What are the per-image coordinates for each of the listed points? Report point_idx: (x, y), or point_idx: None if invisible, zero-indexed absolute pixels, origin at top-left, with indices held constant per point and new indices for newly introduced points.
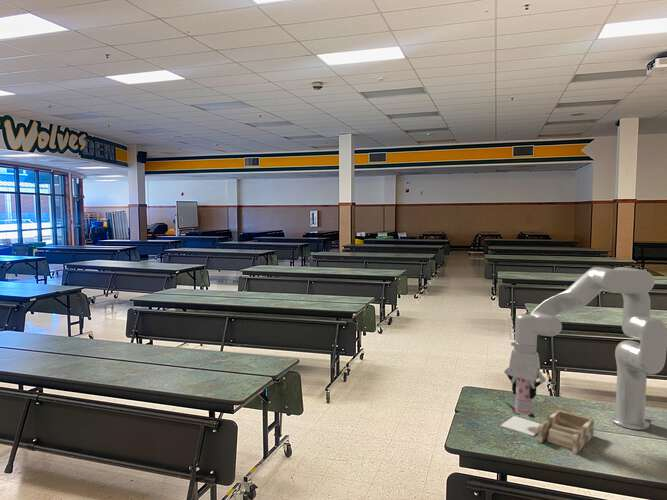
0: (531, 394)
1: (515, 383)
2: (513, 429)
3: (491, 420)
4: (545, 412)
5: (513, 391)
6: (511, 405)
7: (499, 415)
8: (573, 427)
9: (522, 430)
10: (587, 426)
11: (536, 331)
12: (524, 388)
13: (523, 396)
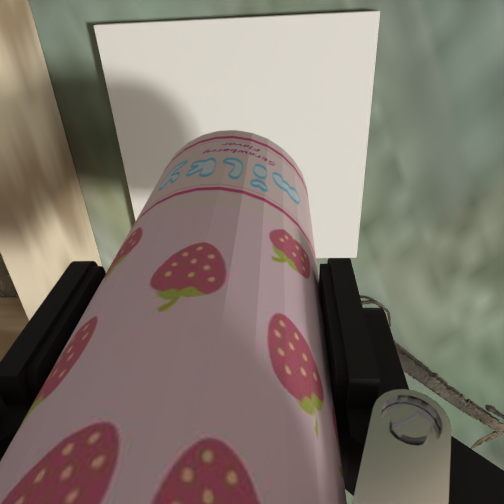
0: (48, 297)
1: (346, 412)
2: (259, 17)
3: (482, 78)
4: None
5: (346, 277)
6: (423, 382)
7: (449, 213)
8: (4, 312)
9: (197, 56)
10: None
11: None
12: (107, 320)
13: (157, 226)
